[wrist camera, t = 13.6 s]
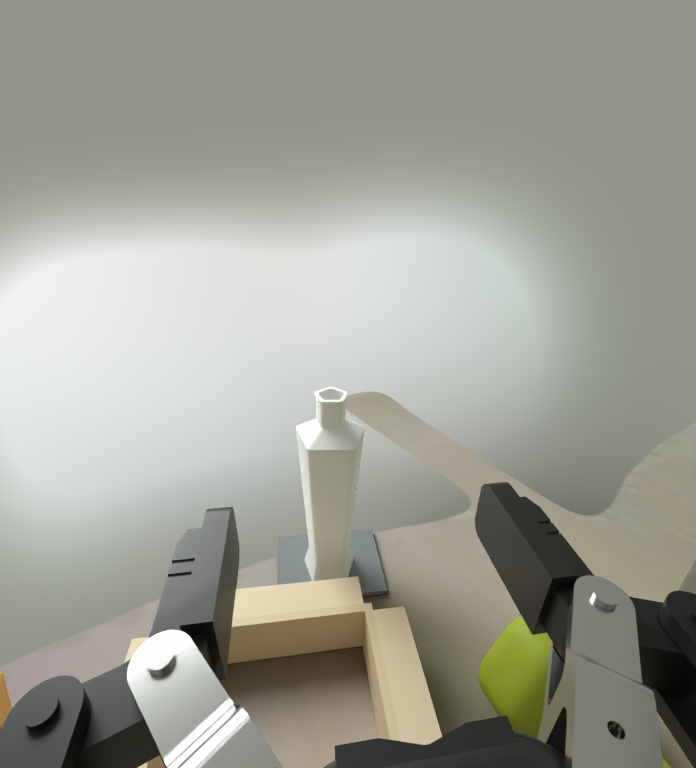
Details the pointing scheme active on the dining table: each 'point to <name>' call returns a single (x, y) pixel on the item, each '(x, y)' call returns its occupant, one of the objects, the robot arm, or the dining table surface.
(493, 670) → the dumbbell
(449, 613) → the dining table surface
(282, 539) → the mat
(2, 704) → the toy camera
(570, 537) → the dining table surface
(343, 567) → the white vase
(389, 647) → the carton
